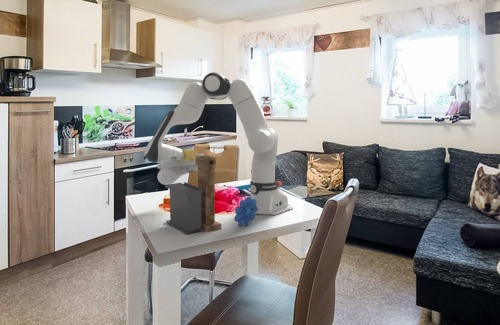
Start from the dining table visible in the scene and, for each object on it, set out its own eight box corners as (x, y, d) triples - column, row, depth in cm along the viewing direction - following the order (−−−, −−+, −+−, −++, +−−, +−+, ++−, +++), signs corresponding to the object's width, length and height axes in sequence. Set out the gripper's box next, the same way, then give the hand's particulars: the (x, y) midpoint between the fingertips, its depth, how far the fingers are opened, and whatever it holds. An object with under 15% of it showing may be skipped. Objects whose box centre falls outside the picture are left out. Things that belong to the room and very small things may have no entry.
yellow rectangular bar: (191, 159, 158) (191, 149, 157) (212, 163, 145) (212, 151, 144) (182, 160, 155) (181, 149, 155) (203, 163, 142) (203, 152, 142)
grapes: (250, 220, 158) (251, 193, 156) (260, 224, 152) (261, 196, 151) (228, 225, 151) (228, 197, 149) (238, 229, 145) (238, 200, 143)
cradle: (181, 220, 157) (180, 180, 154) (202, 230, 143) (202, 187, 141) (165, 223, 152) (165, 182, 150) (186, 234, 139) (186, 190, 136)
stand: (205, 221, 156) (204, 154, 151) (221, 228, 146) (221, 157, 142) (190, 224, 151) (190, 155, 147) (206, 232, 142) (206, 159, 138)
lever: (232, 199, 212) (251, 196, 198) (230, 187, 213) (249, 184, 199) (242, 197, 217) (261, 195, 203) (240, 186, 217) (259, 182, 203)
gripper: (153, 161, 158) (166, 148, 148) (195, 158, 171) (208, 145, 161) (157, 175, 157) (169, 163, 146) (198, 170, 169) (212, 159, 159)
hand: (190, 154), depth 154 cm, fingers closed on yellow rectangular bar, 4 cm apart
